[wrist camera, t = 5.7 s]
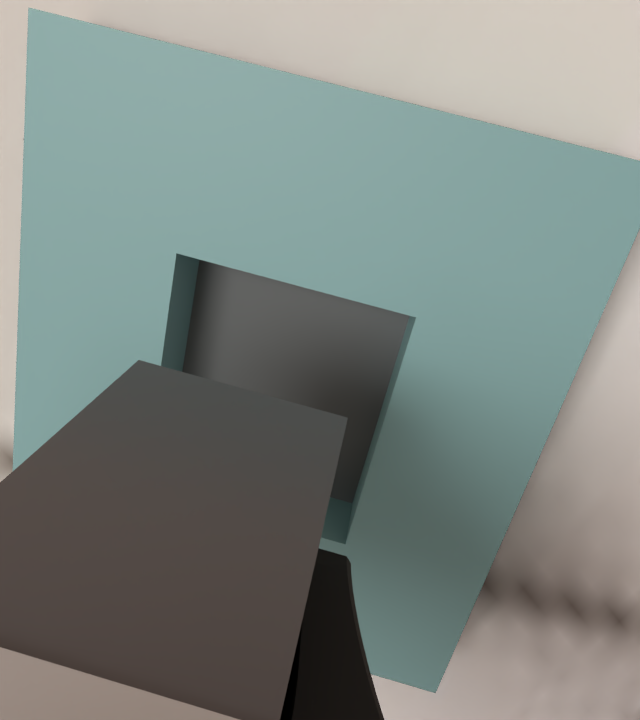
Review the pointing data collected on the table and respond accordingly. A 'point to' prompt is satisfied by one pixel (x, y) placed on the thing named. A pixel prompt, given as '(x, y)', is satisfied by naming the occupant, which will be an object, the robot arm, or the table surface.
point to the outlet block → (319, 289)
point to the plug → (163, 553)
